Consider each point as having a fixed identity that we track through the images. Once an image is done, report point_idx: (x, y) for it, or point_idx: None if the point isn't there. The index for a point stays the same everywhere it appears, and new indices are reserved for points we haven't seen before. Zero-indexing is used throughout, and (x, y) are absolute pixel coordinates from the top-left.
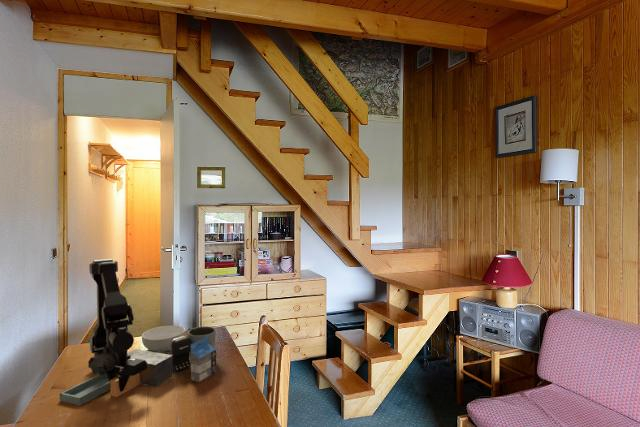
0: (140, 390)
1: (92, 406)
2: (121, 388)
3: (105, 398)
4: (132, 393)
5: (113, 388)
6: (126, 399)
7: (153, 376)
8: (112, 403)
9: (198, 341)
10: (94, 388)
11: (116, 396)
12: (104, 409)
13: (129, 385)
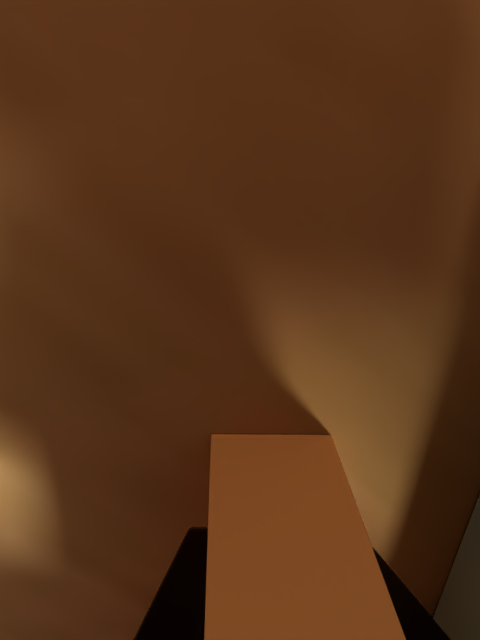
0: (64, 613)
1: (375, 49)
2: (164, 580)
3: (348, 354)
4: (89, 548)
5: (293, 541)
6: (9, 424)
7: None
8: (99, 268)
9: None
10: None
11: (219, 438)
12: (29, 22)
13: None
